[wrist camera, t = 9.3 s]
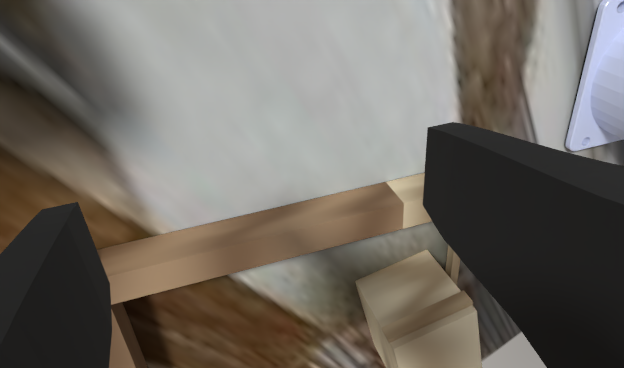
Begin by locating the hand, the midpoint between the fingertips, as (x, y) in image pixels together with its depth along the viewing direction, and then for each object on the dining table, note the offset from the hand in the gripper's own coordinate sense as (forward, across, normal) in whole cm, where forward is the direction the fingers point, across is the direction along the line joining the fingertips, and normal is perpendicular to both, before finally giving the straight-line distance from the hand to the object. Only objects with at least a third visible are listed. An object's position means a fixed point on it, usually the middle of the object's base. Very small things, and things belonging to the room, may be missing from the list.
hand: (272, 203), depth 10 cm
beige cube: (+10, -8, +16) cm, 21 cm away
